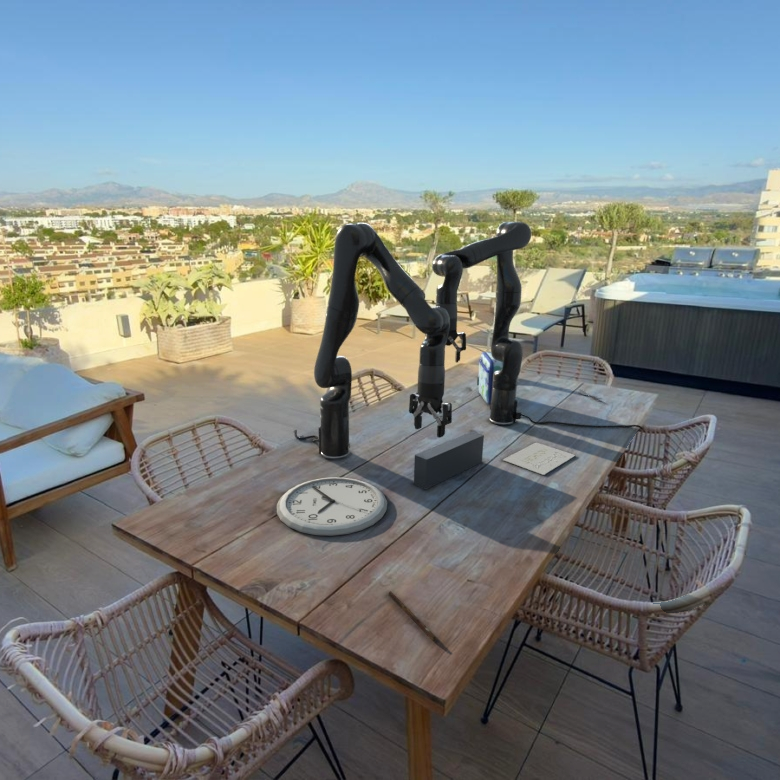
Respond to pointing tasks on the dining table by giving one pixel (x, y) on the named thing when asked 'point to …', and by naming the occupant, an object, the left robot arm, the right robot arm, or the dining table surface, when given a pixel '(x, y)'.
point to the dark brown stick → (412, 616)
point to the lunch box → (487, 375)
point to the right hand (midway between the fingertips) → (444, 362)
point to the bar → (447, 459)
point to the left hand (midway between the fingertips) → (429, 432)
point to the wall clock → (331, 506)
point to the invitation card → (539, 458)
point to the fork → (589, 395)
